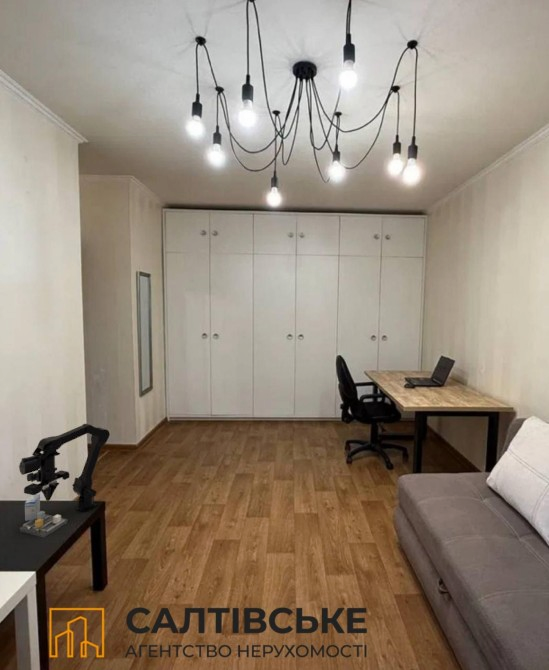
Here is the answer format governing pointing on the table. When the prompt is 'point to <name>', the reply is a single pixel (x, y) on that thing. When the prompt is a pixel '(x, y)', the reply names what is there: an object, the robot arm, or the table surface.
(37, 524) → the slider amber
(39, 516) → the slider blue
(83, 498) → the robot arm
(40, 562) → the table surface
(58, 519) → the slider cream
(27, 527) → the panel
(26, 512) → the medicine box
